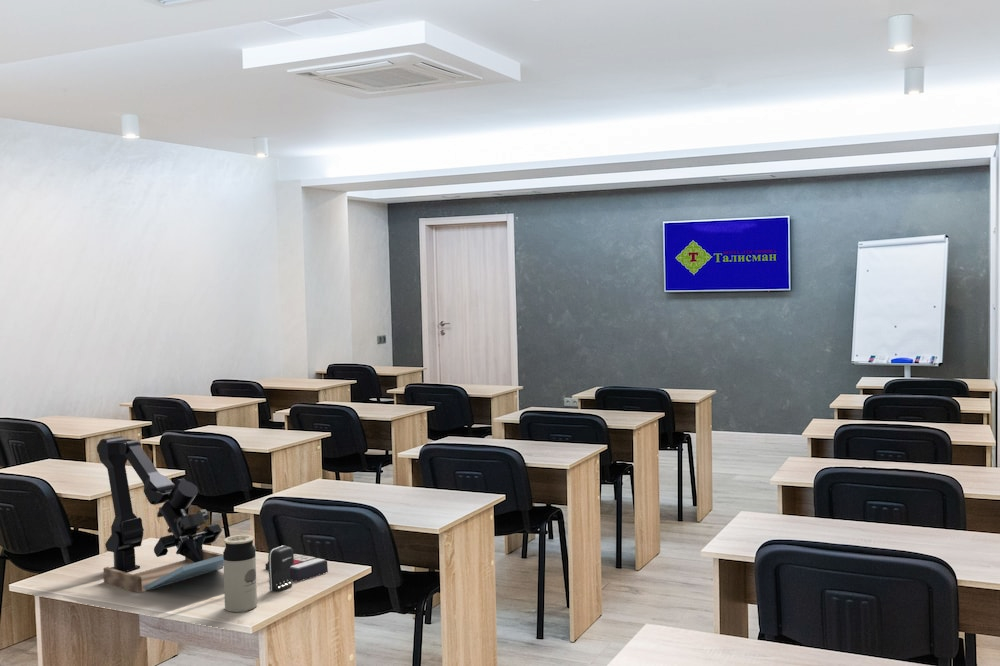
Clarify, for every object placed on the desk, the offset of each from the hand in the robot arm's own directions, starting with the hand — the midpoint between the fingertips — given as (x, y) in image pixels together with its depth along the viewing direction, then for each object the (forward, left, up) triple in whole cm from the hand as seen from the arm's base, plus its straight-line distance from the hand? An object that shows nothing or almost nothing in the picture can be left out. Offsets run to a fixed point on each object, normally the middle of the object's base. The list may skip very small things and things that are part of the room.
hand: (202, 564), depth 248 cm
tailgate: (-10, 0, -6) cm, 11 cm away
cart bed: (-18, 0, -7) cm, 19 cm away
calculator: (+9, +25, -8) cm, 28 cm away
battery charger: (+18, +13, -7) cm, 23 cm away
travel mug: (+21, -3, -7) cm, 23 cm away
